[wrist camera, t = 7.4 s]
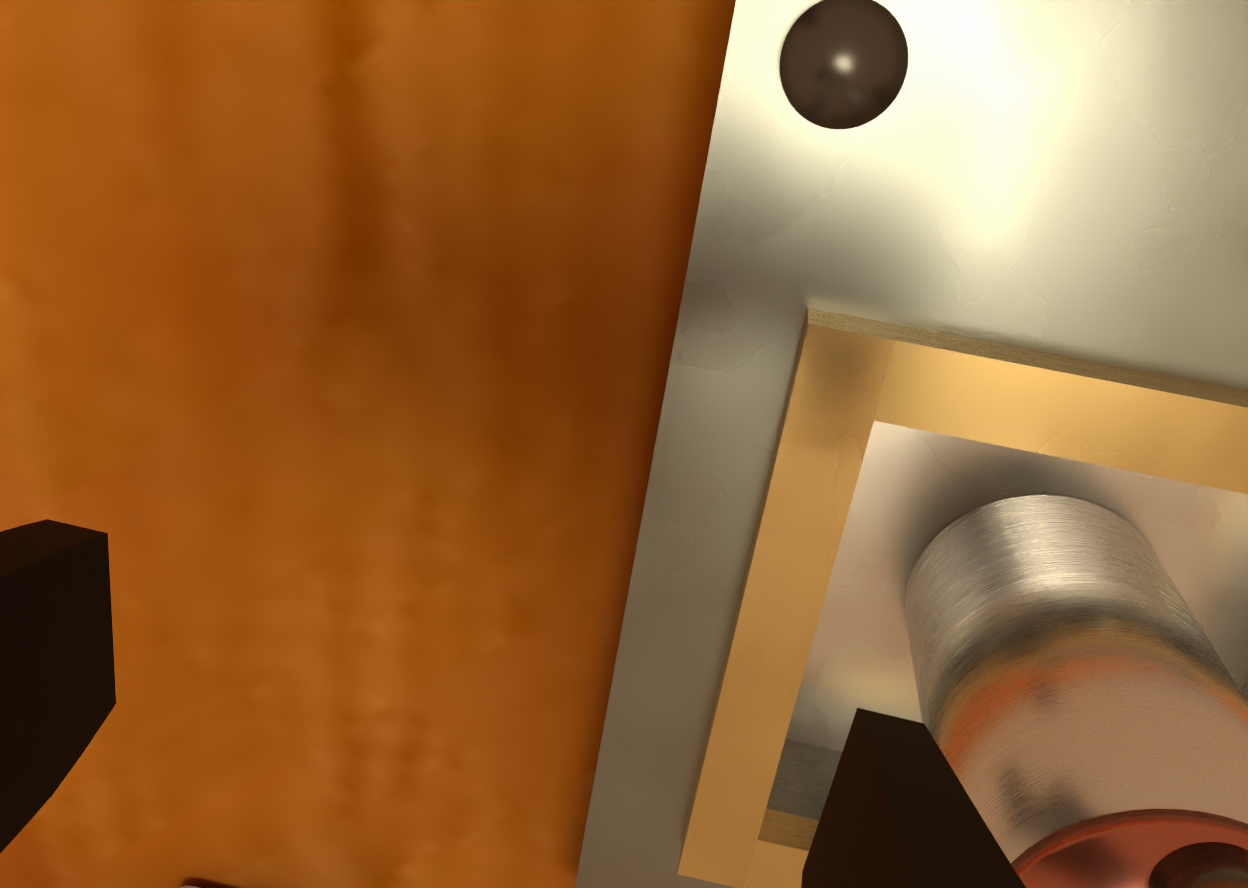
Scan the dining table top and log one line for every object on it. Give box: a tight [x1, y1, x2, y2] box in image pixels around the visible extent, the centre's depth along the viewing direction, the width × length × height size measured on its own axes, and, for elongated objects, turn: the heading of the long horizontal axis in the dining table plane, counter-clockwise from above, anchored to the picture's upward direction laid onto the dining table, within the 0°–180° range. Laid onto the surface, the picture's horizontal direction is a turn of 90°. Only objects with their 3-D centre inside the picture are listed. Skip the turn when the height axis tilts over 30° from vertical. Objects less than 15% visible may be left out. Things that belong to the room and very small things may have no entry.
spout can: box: [905, 495, 1248, 888], centre depth 15 cm, size 4×4×8 cm
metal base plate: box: [574, 0, 1248, 888], centre depth 18 cm, size 20×14×4 cm
